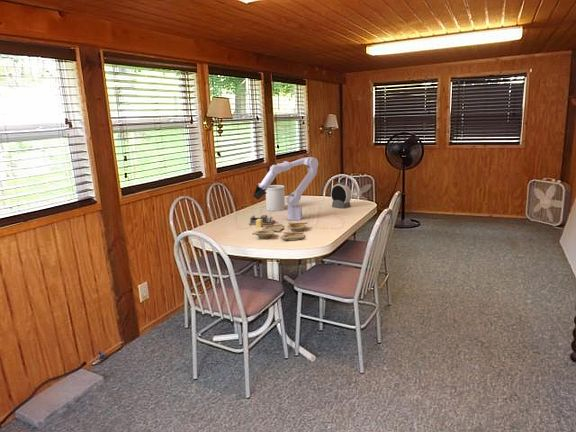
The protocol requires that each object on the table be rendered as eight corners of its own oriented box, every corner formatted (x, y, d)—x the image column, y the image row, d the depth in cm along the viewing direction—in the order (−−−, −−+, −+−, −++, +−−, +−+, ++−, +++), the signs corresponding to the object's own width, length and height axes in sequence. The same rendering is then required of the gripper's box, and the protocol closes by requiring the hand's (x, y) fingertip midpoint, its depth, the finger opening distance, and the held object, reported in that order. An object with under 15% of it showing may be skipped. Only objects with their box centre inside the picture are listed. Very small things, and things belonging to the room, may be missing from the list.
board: (275, 221, 278) (275, 220, 278) (271, 225, 269) (271, 223, 269) (253, 221, 282) (253, 220, 281) (249, 225, 272) (249, 223, 272)
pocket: (263, 220, 278) (263, 215, 278) (260, 223, 272) (260, 218, 271) (253, 220, 280) (253, 215, 279) (250, 223, 273) (250, 217, 273)
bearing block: (267, 221, 277) (267, 215, 276) (265, 223, 272) (264, 217, 271) (263, 220, 278) (262, 215, 277) (260, 223, 272) (260, 217, 271)
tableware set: (302, 242, 230) (301, 235, 229) (250, 242, 235) (249, 235, 234) (310, 226, 263) (309, 220, 262) (264, 226, 269) (264, 220, 268)
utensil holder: (287, 207, 323) (286, 184, 319) (283, 211, 309) (282, 187, 305) (268, 207, 326) (267, 185, 322) (264, 211, 312) (262, 188, 308)
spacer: (262, 225, 269) (262, 219, 268) (260, 227, 265) (260, 220, 264) (258, 225, 270) (257, 219, 269) (256, 227, 266) (255, 220, 265)
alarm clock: (328, 206, 319) (327, 182, 314) (337, 204, 325) (337, 180, 321) (345, 209, 307) (344, 184, 303) (353, 206, 313) (353, 182, 309)
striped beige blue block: (272, 221, 275) (272, 216, 274) (271, 222, 272) (271, 217, 271) (262, 221, 276) (262, 216, 276) (261, 222, 274) (260, 217, 273)
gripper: (264, 179, 282) (253, 196, 282) (260, 175, 267) (248, 192, 267) (273, 185, 280) (261, 202, 280) (269, 181, 266) (256, 199, 266)
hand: (255, 198), depth 274 cm, fingers open, 7 cm apart
